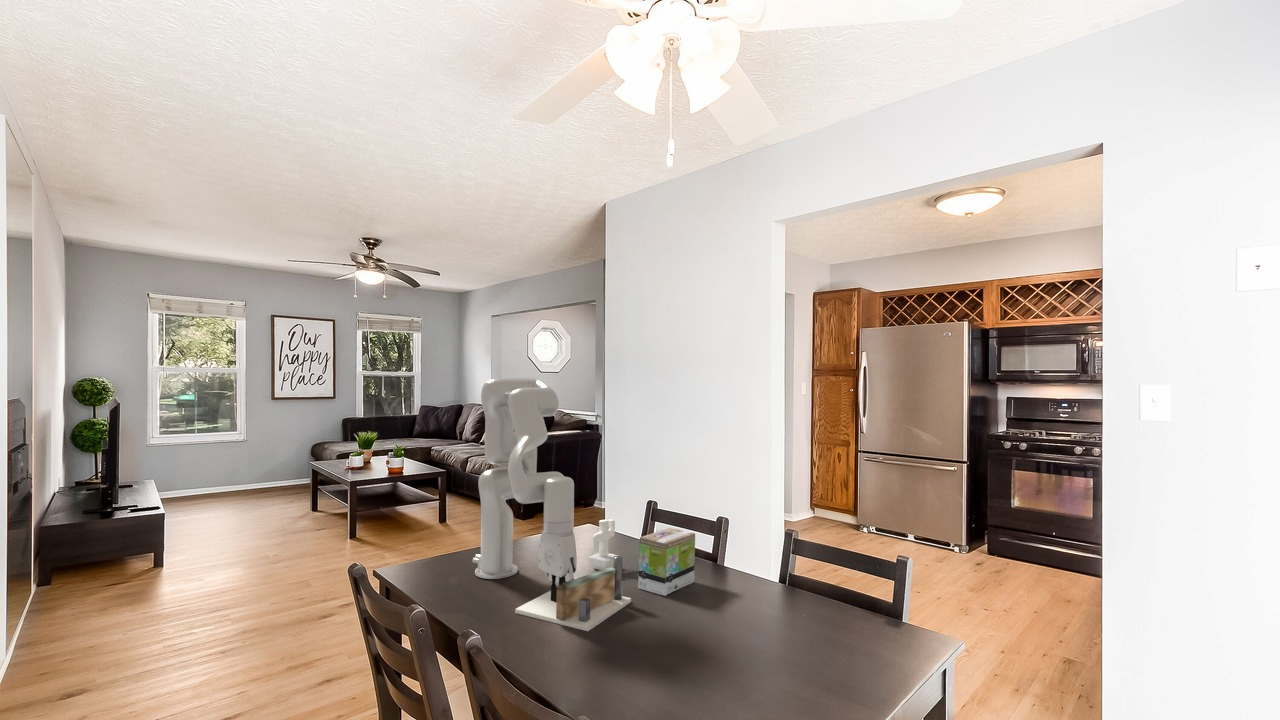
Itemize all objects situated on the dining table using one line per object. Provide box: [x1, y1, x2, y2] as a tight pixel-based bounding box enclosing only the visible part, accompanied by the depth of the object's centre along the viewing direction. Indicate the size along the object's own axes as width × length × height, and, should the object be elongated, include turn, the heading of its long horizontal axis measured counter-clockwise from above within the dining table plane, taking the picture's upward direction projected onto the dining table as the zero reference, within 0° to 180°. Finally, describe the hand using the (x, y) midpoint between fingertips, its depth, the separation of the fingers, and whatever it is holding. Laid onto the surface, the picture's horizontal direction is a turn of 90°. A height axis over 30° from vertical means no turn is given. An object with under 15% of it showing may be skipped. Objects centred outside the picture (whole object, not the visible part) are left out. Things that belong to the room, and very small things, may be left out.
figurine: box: [587, 519, 620, 571], centre depth 187 cm, size 7×9×15 cm
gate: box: [556, 567, 615, 621], centre depth 150 cm, size 18×2×8 cm, turn 138°
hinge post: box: [579, 555, 623, 622], centre depth 152 cm, size 2×18×12 cm, turn 152°
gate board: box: [514, 590, 632, 632], centre depth 155 cm, size 22×21×1 cm
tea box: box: [637, 527, 696, 597], centre depth 172 cm, size 15×10×15 cm, turn 143°
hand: (557, 600), depth 149 cm, fingers closed
